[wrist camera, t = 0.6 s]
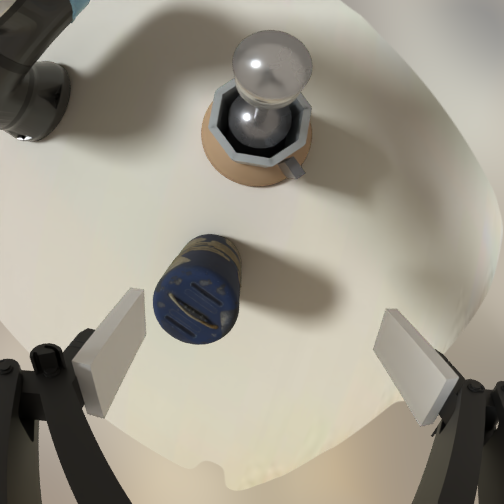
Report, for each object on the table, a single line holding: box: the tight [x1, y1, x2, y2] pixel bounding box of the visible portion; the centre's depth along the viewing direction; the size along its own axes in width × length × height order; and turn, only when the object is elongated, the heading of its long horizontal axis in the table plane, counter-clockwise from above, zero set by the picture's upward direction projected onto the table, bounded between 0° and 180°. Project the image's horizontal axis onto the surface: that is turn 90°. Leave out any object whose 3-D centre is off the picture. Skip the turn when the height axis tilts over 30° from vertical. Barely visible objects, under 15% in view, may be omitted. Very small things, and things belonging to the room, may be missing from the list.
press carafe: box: [201, 78, 312, 186], centre depth 35 cm, size 16×16×14 cm
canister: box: [153, 234, 241, 345], centre depth 38 cm, size 10×10×18 cm
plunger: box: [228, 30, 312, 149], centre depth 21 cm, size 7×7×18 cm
